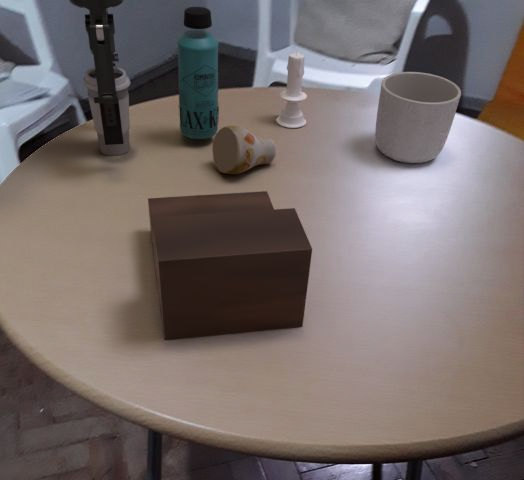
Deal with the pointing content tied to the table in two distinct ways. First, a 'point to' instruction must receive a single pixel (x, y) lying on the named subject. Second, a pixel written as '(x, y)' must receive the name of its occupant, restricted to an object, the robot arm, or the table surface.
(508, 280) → the table surface
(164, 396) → the table surface
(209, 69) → the beverage bottle
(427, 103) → the planter
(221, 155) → the floral vase
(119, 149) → the cup
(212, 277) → the step shelf
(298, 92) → the candle
